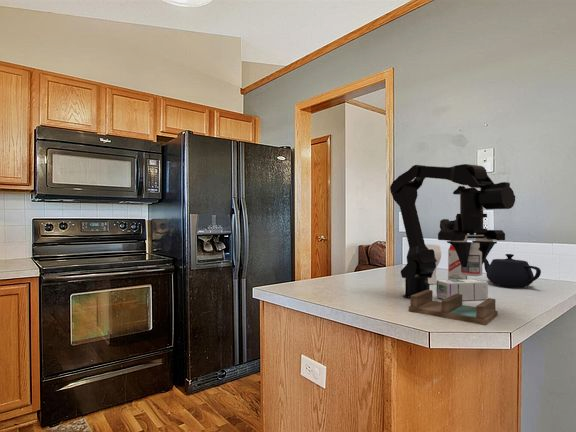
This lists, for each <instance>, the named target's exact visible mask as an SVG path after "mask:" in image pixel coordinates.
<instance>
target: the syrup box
mask: <svg viewBox="0 0 576 432" xmlns="http://www.w3.org/2000/svg"><path fill="white" fill-rule="evenodd" d="M488 284H489V282H488V281H485V280H482V279H478V278H467V279H458V280H448V279H437V283H436V288H435V289H436V298H439V299H440V300H444V299H446V298H448V297H450V296H452V295H455V294H462V302H463V301H480V300H481V301H483V300H484V301H485V300H487V299H488V298H489V295H488V293H489V292H488V291H489V285H488Z"/></svg>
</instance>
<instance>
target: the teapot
mask: <svg viewBox="0 0 576 432" xmlns="http://www.w3.org/2000/svg"><path fill="white" fill-rule="evenodd" d="M505 256H506V258H495V259H494V258H493V259H492V260H491V262H489V260H488V259H487V258H486V259H485V261H484V263H483V265H484V271H485V273H486V278H487V280H488V281H489V282H490V283H492V284H493V285H495V286H499V287H505V288H512V289H513V288H515V289H516V288H521V289H522V288H528V286H530V285H532V284H533V283H534V282H535V281H536V280H537V279H539V277H541V273H542V270H541V268H539V267H538V266H534V265H530V264H529V262H528V260H527V261H526V260H520V259H514V258H513V257H514V254H513V253H506V254H505ZM532 269H533V270H535V274H534V272H533V270H532Z"/></svg>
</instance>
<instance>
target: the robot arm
mask: <svg viewBox="0 0 576 432" xmlns="http://www.w3.org/2000/svg"><path fill="white" fill-rule="evenodd" d="M427 178H429V179H436V180H437V179H439V180H448V181H451V182H452V183H454V184H459V186H458V187H457V188H456V189H454V191H453V192H452V194H453V195H458V196H459V211H460V212H459V213H456V215H455V219H454V220H450V219H447V218H443V219H441V220H439V232H438V233H437V240H438V241H445V242H447V244H449V245H452V246H453V247H454V248H455V250H456V252H457V255H458V258H459V260H460V263H461V266H462V267H466V265H467V262H468V257H469V252H470V247H471V242H475V243H479V244H480V247H479V251H481V252H482V266H483V265H484V261H485V259H487V257H488V256H489V254H490V252H491V251H492V249H493V248H494V246H495V245H496V244H497V243H498V241H506V233H505V232H504V231H503V230H502V229H487V228H484V218H488V214H487V213H484V209H486V210H509V209H512V208H513V207H514V206H515V202H516V195H515V193H514V190H513V188H512V187H511V183H510V182H507V181H500V182H498V183H494V181H493V180H492V179H491V178H490V176H489V175H488V172H487V169H486V168H485V166H482V165H479V164H478V165H477V164H470V163H469V164H468V163H463V164H458V165H456V164H455V165H453V166H447V167H446V166H432V165H431V166H429V165H422V164H415V165H412V166H411V167H410V168H409V169H408V170H406V171H405V172H403V173H402V174H400V175H399V176H397V178H396V179H394V180H393V181H392V183H391V184H390V187H389V191H390V193H391V196H392V199H393V201H394V202H395V203H396V205H398V206H399V209H400V213H401V217H402V222H403V226H404V230H405V231H404V232H405V234H406V239H407V243H408V251H407V254H406V264H405V266H404V267H403V268H402V269H401V270H400V275H401V278H403V279H405V280H404V281H405V282H404V284H405V288H404V289H405V290H404V292H405V294H403V295H402V297H404V298H409V299H411V295H414V294H417V293H420V292H422V291H425V290H431V289H430V285H431V284H429V283H428V278H431V277H432V274H433V271H434V270H435V268H436V262H437V260H436V258H435V254H434V250H433V249H428V248H427V247H426V245H425V239H424V235H423V231H422V227H421V223H420V220H419V219H420V218H419V215H418V210H417V206H416V202H417V198H418V190H419V189H420V188H421V187H422V186H423V183H424V181H425V179H427ZM466 186H468V187H466ZM478 189H479V190H478ZM468 239H475V240H471V242H470V241H468ZM493 240H494V241H493ZM495 240H496V241H495Z"/></svg>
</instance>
